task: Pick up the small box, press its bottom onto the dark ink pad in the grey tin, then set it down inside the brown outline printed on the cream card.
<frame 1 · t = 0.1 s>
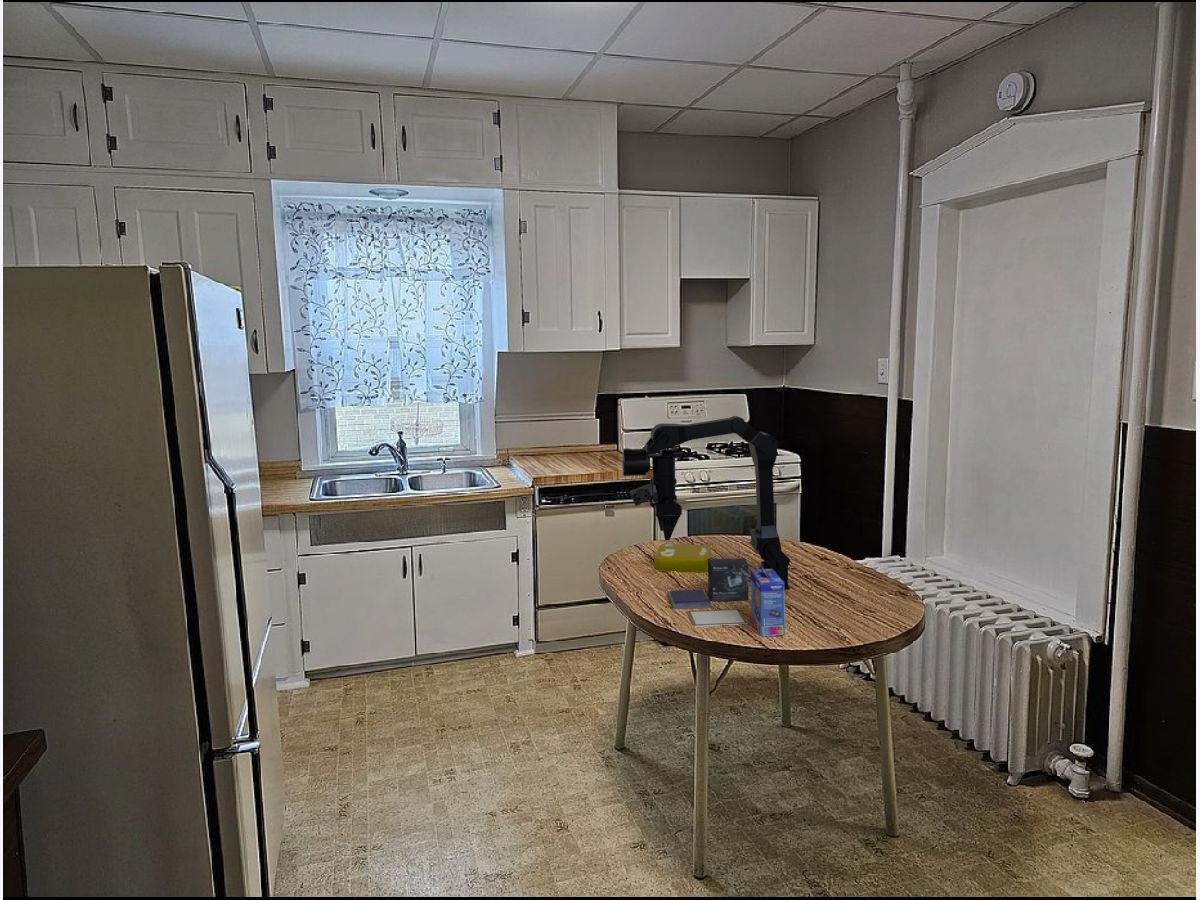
hand: (664, 535, 190), 15 cm above the table, tool pointing down, fingers open, 9 cm apart
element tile: (683, 566, 215), on the table
target card: (716, 618, 173), on the table
ink cartridge box: (767, 629, 166), on the table
box: (728, 598, 186), on the table
ink pad: (689, 602, 184), on the table
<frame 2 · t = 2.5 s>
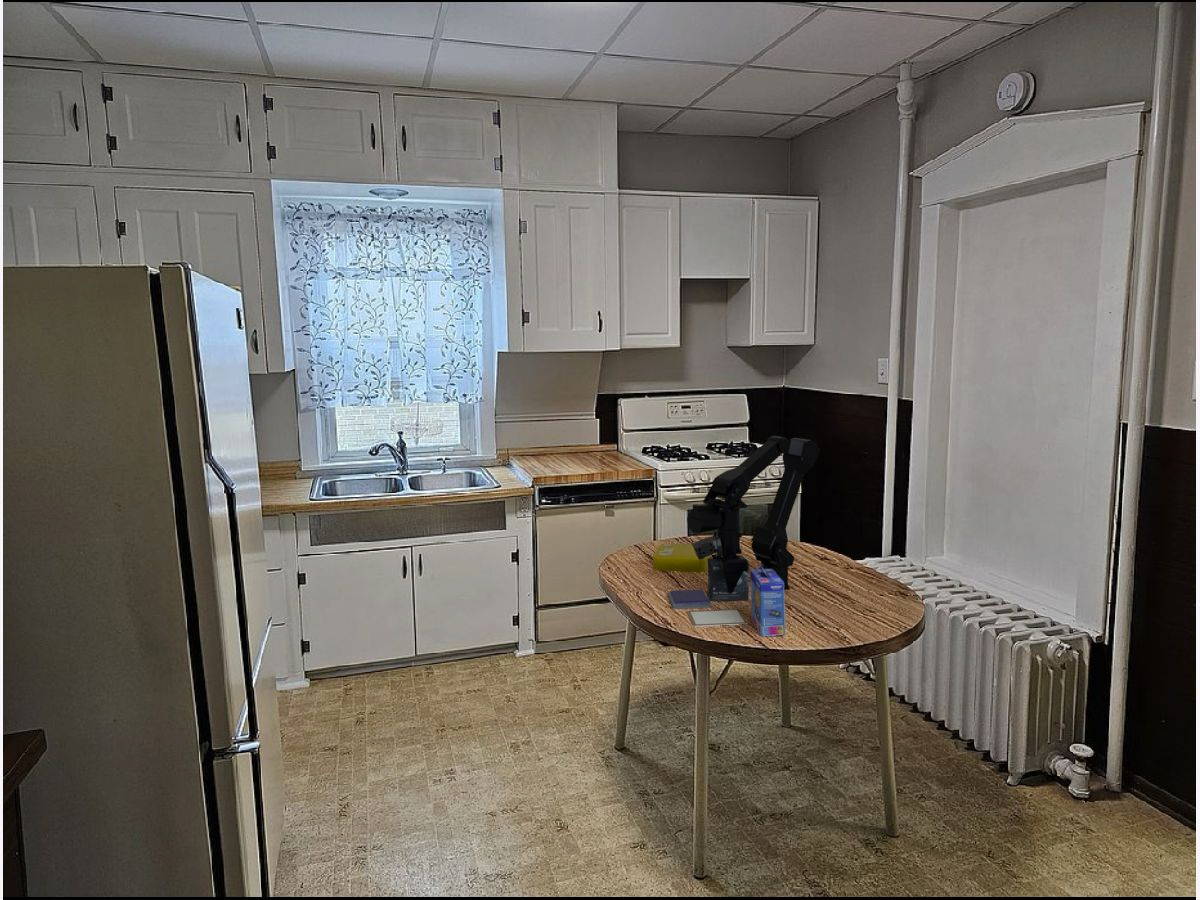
hand: (727, 588, 186), 2 cm above the table, tool pointing down, fingers closed on box, 5 cm apart
box: (728, 598, 186), on the table, touching gripper
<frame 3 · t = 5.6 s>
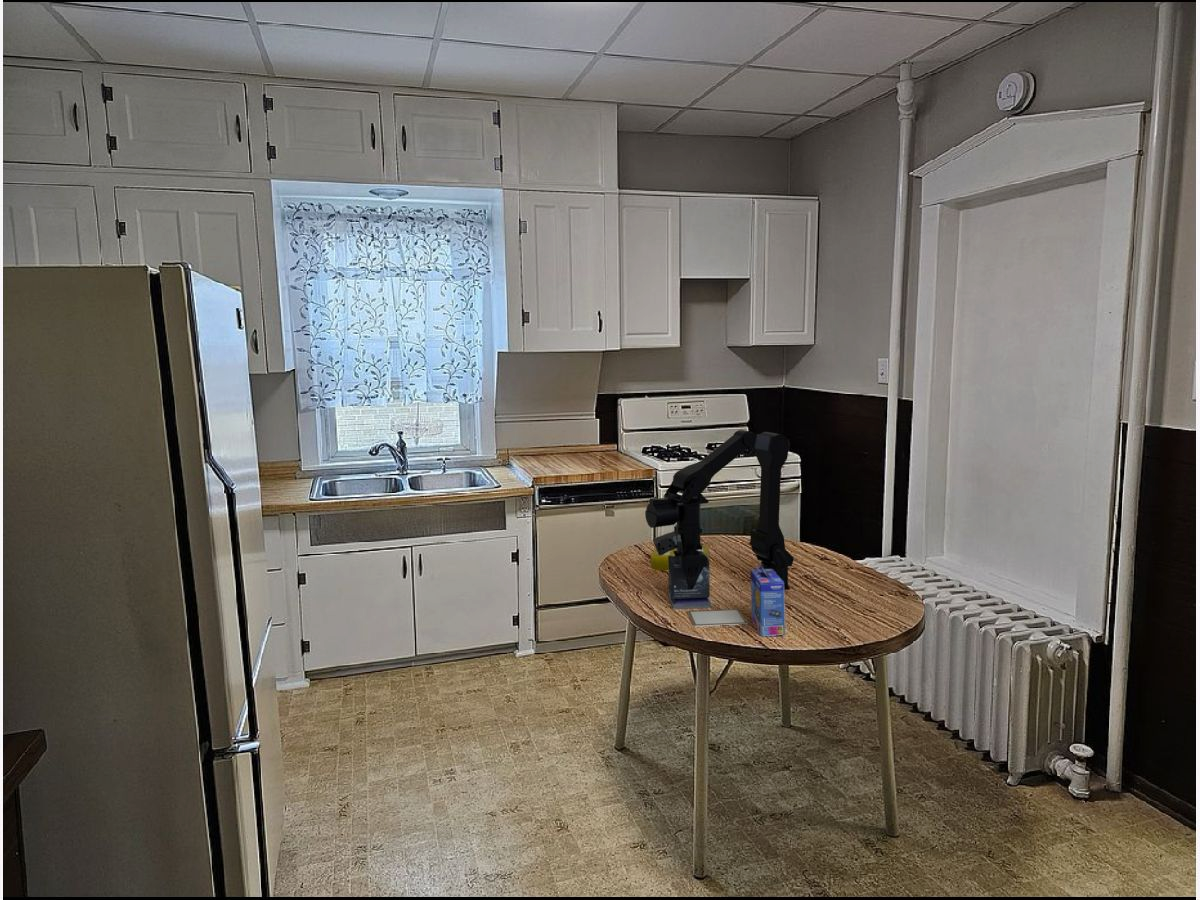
hand: (688, 585, 183), 4 cm above the table, tool pointing down, fingers closed on box, 5 cm apart
box: (688, 596, 184), point 1 cm above the table, touching gripper, ink pad
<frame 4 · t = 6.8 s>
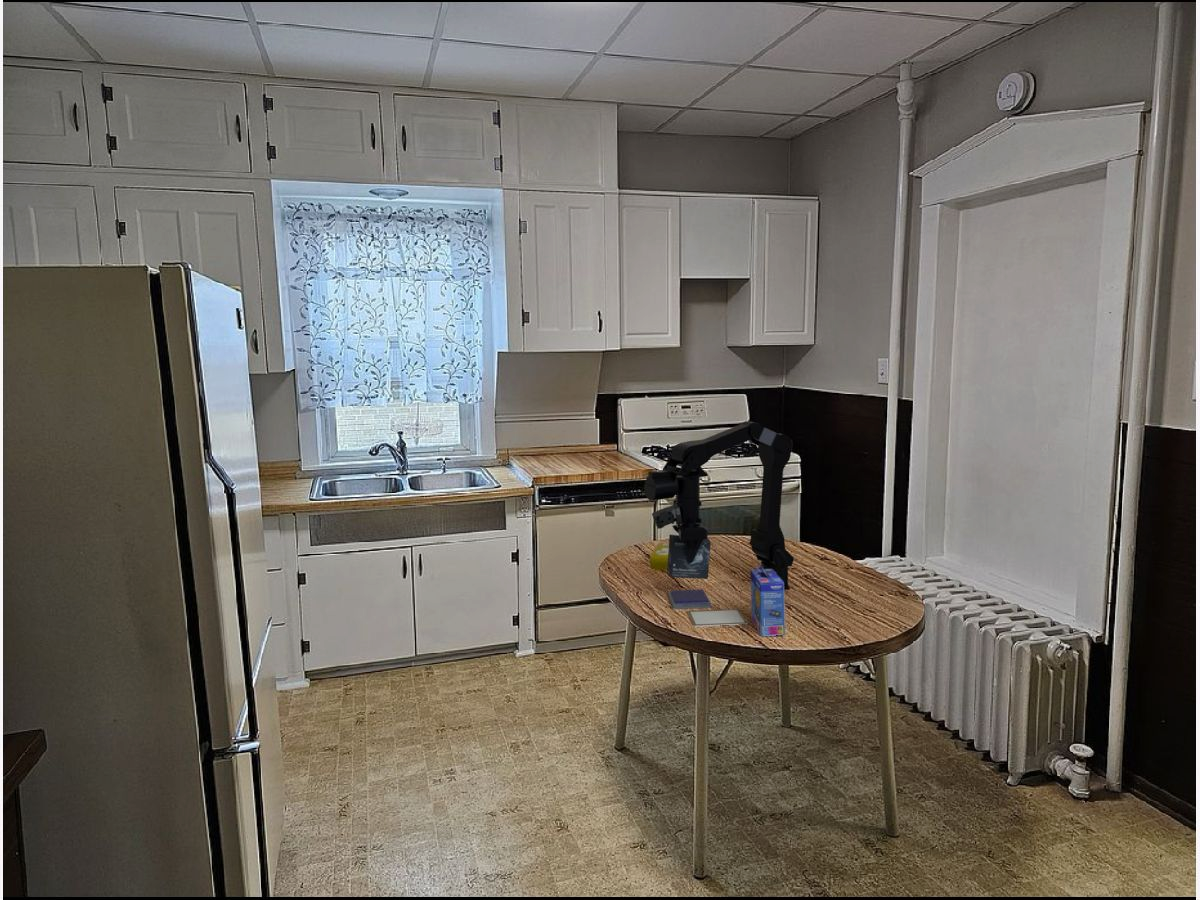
hand: (688, 559, 182), 11 cm above the table, tool pointing down, fingers closed on box, 5 cm apart
box: (687, 576, 183), point 7 cm above the table, touching gripper
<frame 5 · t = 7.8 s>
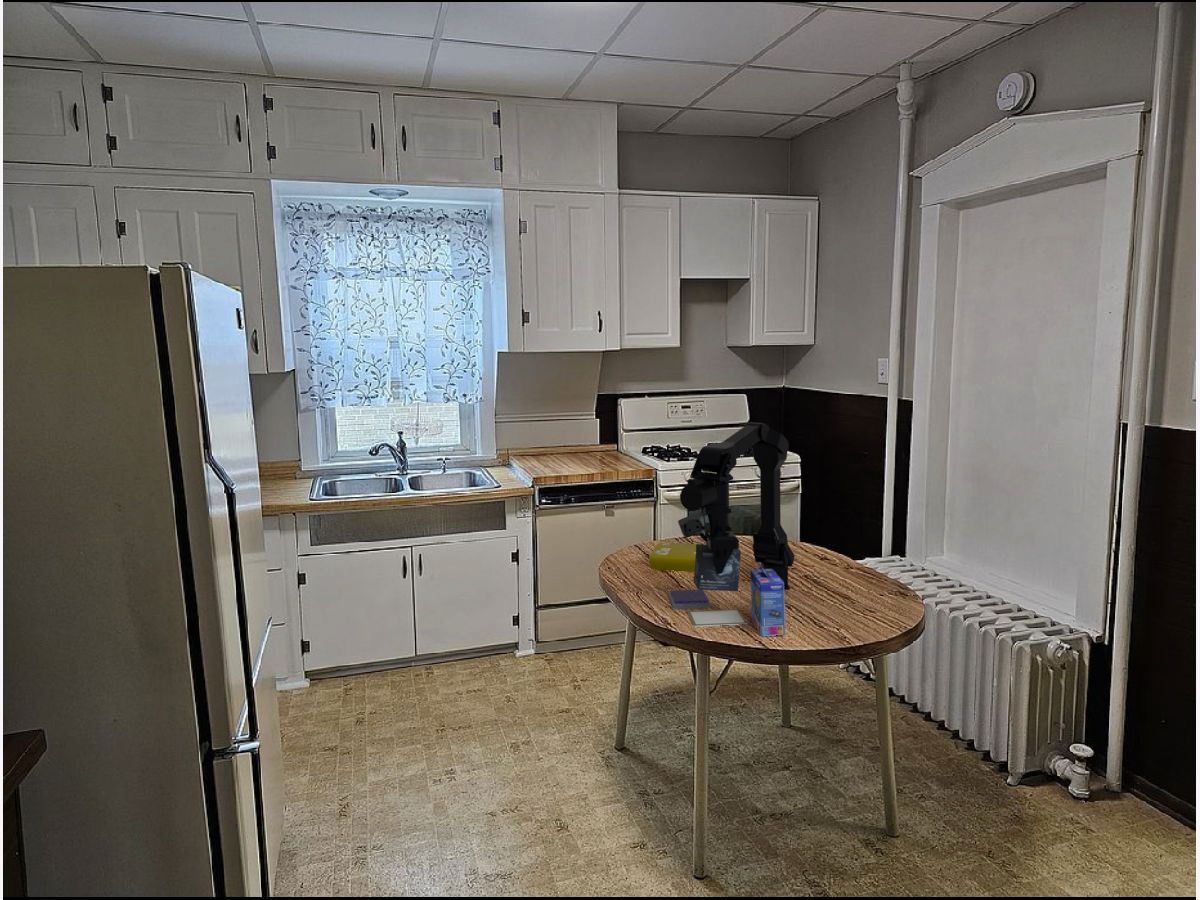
hand: (716, 569, 171), 12 cm above the table, tool pointing down, fingers closed on box, 5 cm apart
box: (715, 588, 172), point 7 cm above the table, touching gripper
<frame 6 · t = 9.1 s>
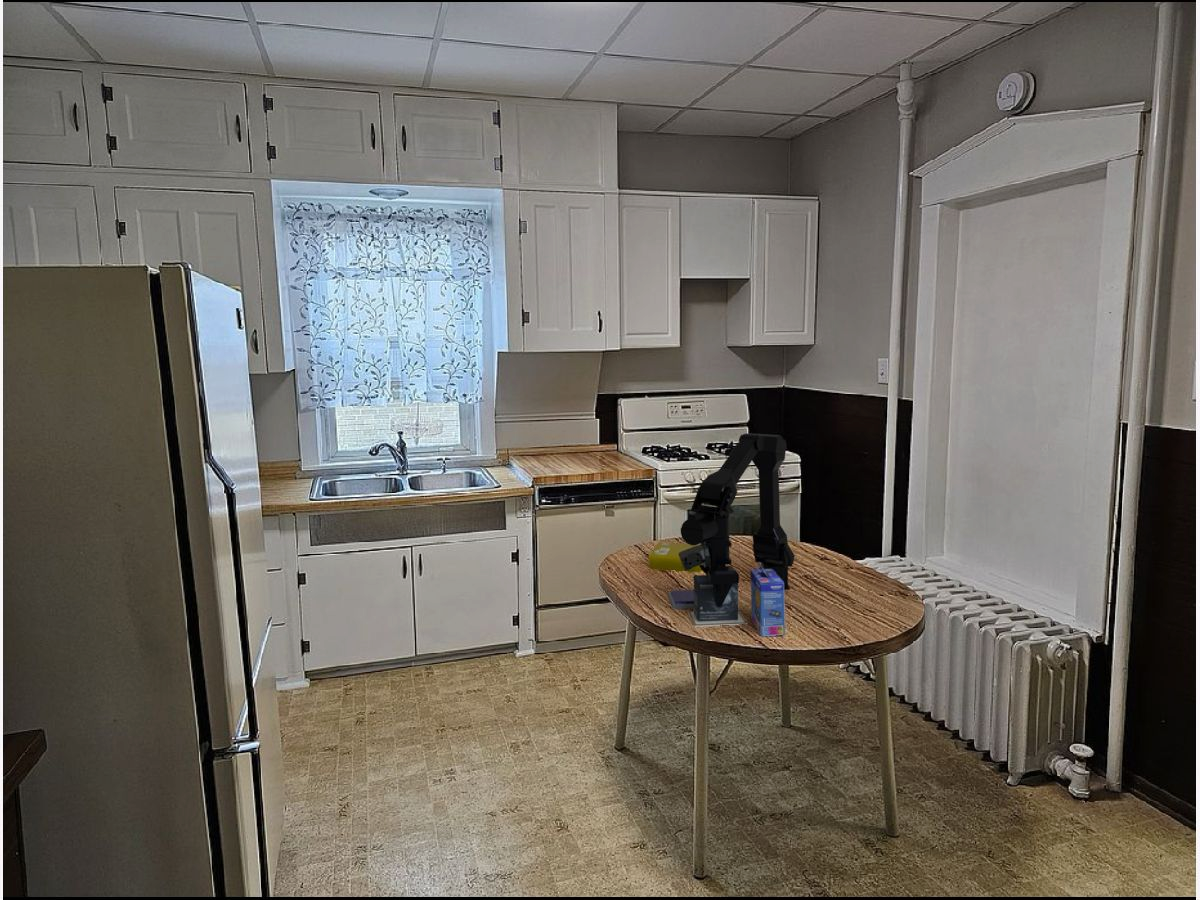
hand: (716, 601, 172), 4 cm above the table, tool pointing down, fingers closed on box, 5 cm apart
box: (715, 618, 173), resting on target card, touching gripper
when the fingers open (4 cm above the table, at t = 9.6 s): box stays where it is, resting on target card.
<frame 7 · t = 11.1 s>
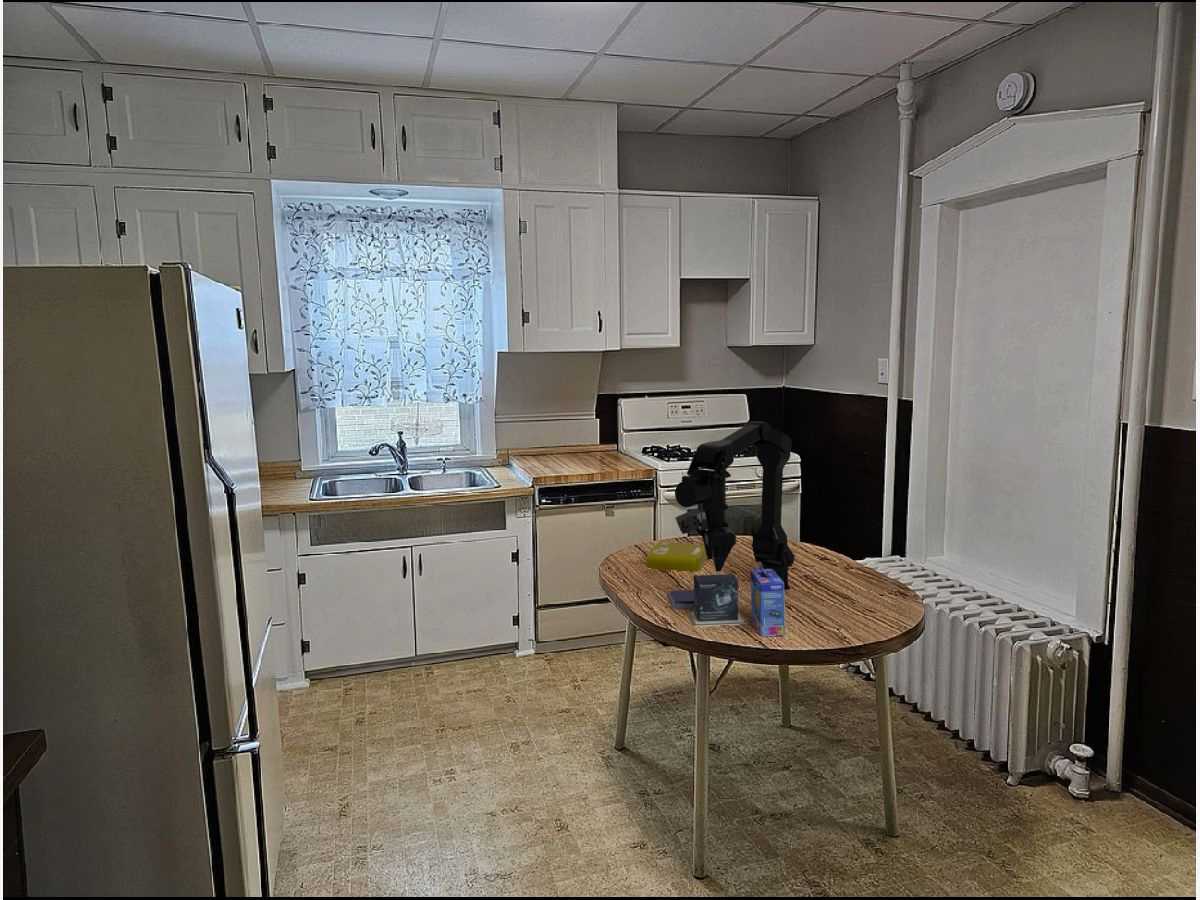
hand: (713, 565, 174), 12 cm above the table, tool pointing down, fingers open, 9 cm apart
box: (715, 618, 173), resting on target card
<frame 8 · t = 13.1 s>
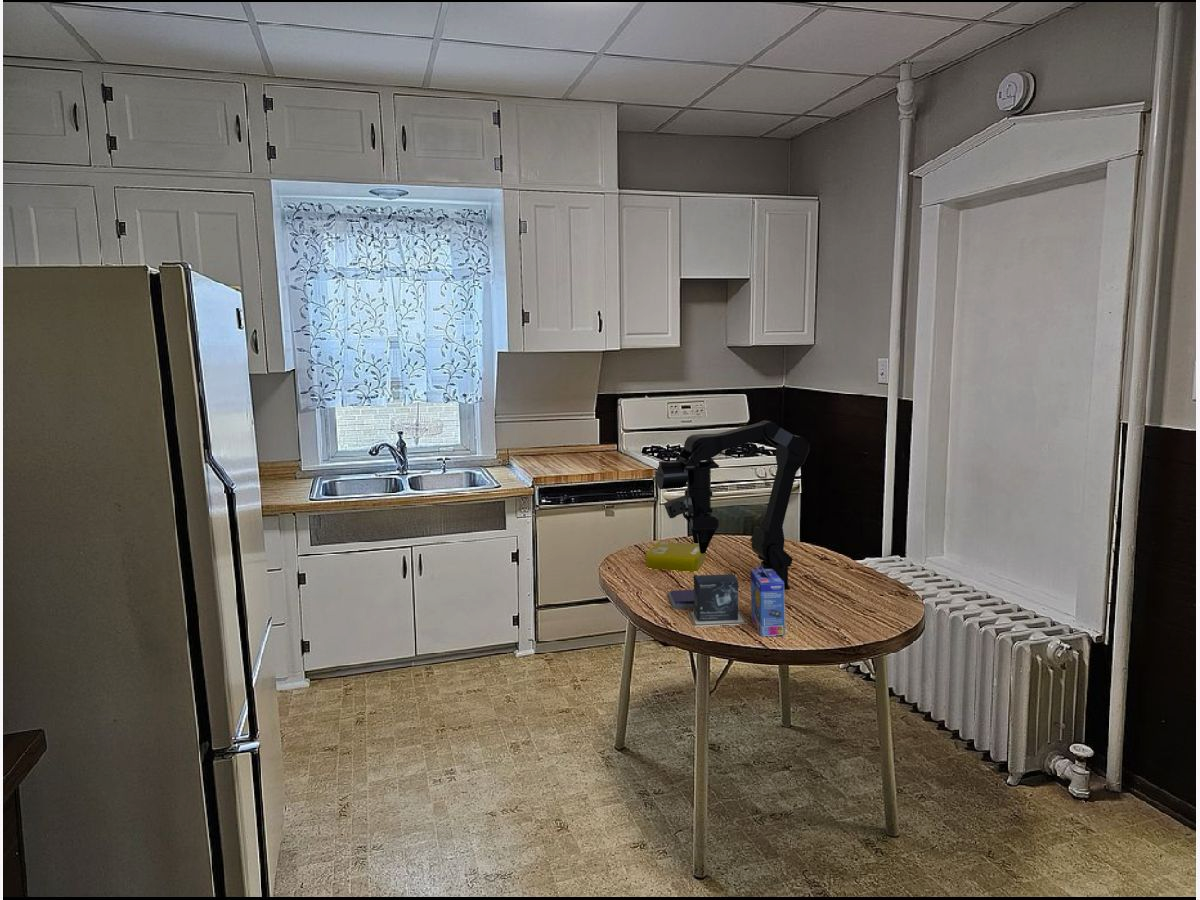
hand: (699, 548, 187), 12 cm above the table, tool pointing down, fingers open, 9 cm apart
at the end: box 0.2 cm off-centre on the target card, point 0.1 cm above the target card's base; box tilted 0°; the gripper is holding nothing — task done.
